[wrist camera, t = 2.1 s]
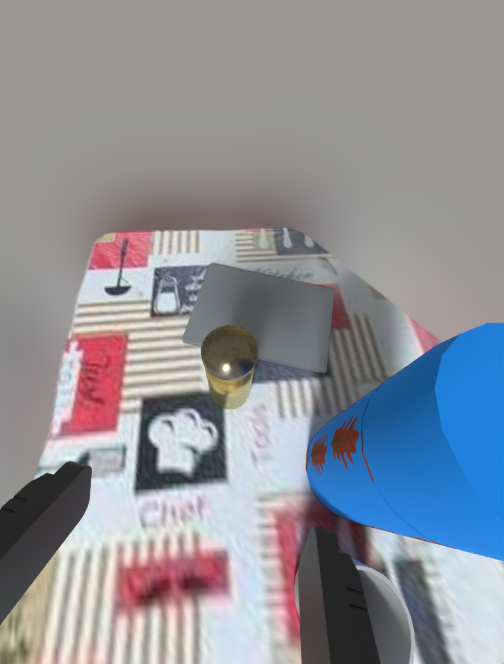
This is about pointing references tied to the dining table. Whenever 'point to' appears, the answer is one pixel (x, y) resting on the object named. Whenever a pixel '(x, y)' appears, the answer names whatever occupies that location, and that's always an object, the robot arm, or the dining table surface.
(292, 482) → the dining table surface
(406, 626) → the cup
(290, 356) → the slate board
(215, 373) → the canister
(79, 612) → the dining table surface
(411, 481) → the thermos
